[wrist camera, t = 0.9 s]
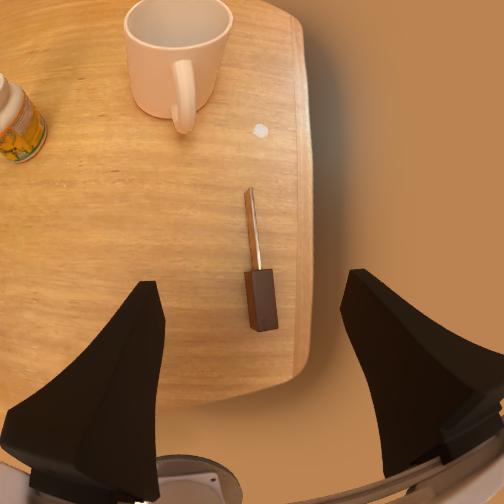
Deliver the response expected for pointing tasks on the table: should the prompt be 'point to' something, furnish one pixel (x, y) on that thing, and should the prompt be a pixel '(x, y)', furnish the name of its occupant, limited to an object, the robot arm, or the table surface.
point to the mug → (175, 55)
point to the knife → (258, 279)
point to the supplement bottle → (19, 123)
